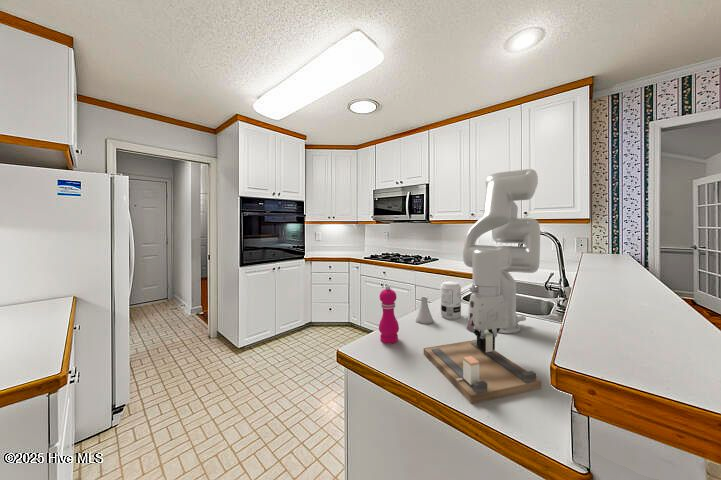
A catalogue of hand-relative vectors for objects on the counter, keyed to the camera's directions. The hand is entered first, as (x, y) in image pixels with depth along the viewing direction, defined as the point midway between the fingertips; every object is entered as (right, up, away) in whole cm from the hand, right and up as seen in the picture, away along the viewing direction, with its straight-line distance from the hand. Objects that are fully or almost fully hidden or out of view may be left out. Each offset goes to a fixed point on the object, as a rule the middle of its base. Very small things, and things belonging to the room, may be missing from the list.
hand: (485, 348), depth 82 cm
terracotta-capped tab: (-11, -2, -15) cm, 19 cm away
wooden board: (-6, -4, -6) cm, 9 cm away
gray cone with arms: (-11, -1, +31) cm, 33 cm away
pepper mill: (-28, -3, +15) cm, 32 cm away
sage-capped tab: (0, 0, 0) cm, 0 cm away
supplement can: (+1, 0, +35) cm, 35 cm away
